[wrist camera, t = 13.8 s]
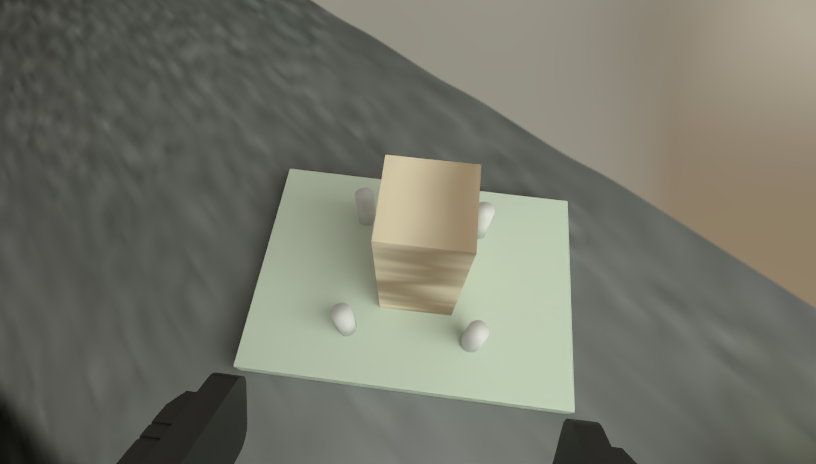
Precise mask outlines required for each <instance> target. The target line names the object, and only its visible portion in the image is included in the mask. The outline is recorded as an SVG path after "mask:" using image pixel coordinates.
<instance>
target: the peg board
mask: <svg viewBox="0 0 816 464" xmlns="http://www.w3.org/2000/svg"><path fill="white" fill-rule="evenodd" d="M380 185H381V179H373V178H365V177H356V176H348V175H339V174H331V173H322V172H314V171H305V170H297V169H290V170H289V174H288V177H287V181H286V184H285V188H284V191H283V195H282V198H281V202H280V205H279V209H278V212H277V216H276V219H275V223H274V226H273V230H272V233H271V237H270V240H269V244H268V247H267V251H266V254H265V258H264V261H263V265H262V268H261V272H260V275H259V279H258V282H257V285H256V289H255V292H254V296H253V299H252V303H251V306H250V310H249V313H248V317H247V320H246V324H245V327H244V331H243V334H242V338H241V341H240V345H239V348H238V352H237V355H236V359H235V362H234V367H236V368H238V369H240V370H242V371H250V372H257V373H265V374H272V375H280V376H287V377H294V378H302V379H309V380H317V381H324V382H331V383H339V384H346V385H354V386H361V387H369V388H376V389H383V390H391V391H398V392H406V393H413V394H420V395H428V396H435V397H443V398H450V399H458V400H465V401H472V402H480V403H487V404H495V405H502V406H509V407H517V408H524V409H532V410H539V411H547V412H554V413H561V414H569V413H574V412H575V406H574V377H573V348H572V318H571V289H570V260H569V231H568V201H560V200H552V199H543V198H535V197H526V196H518V195H509V194H501V193H492V192H484V191H480V196H479V216H478V235H477V253H476V256H475V258H474V261H473V263H472V266H471V268H470V271H469V273H468V276H467V278H466V281H465V283H464V286H463V288H462V291H461V293H460V295H459V298H458V300H457V303H456V305H455V308H454V310H453V313H452V315H451V316H449V315H441V314H432V313H423V312H415V311H406V310H398V309H389V308H380V305H379V297H378V289H377V282H376V274H375V266H374V258H373V251H372V243H371V240H372V234H373V228H374V222H375V216H376V209H377V203H378V197H379V191H380Z"/></svg>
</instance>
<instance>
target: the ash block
mask: <svg viewBox="0 0 816 464" xmlns="http://www.w3.org/2000/svg"><path fill="white" fill-rule="evenodd" d="M480 176H481V165H477V164H468V163H459V162H449V161H440V160H430V159H421V158H411V157H402V156H392V155H385V161H384V167H383V173H382V179H381V185H380V191H379V197H378V203H377V209H376V216H375V222H374V228H373V234H372V240H371V243H372V251H373V258H374V266H375V274H376V282H377V289H378V297H379V305H380V308H389V309H398V310H406V311H415V312H423V313H432V314H441V315H449V316H451V315H452V313H453V310H454V308H455V305H456V303H457V300H458V298H459V295H460V293H461V291H462V288H463V286H464V283H465V281H466V278H467V276H468V273H469V271H470V268H471V266H472V263H473V261H474V258H475V256H476V253H477V235H478V216H479V196H480Z"/></svg>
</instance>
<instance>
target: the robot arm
mask: <svg viewBox="0 0 816 464" xmlns="http://www.w3.org/2000/svg"><path fill="white" fill-rule="evenodd" d="M246 431H247V398H246V380H245V377H244V376H238V375H230V374H222V373H212V374H211V375H210V376H209V377H208V378H207V380H206V381H205V382H204V384H203V385H202V386H201V387H200V389H199V390H198V391H197V392H191V391H186V392H185V393H183V394H182V395H180V396H178V397H177V398H175V399H174V400H172V401H171V402H169V403H168V404H166V405H165V407H164V408H163V409H162V410H161V411H160V413H159V414H158V415H157V416H156V417H155V419H154V420H153V421H152V424H151V425H149V426H148V427H147V428H146V429H145V430H144V432H143V433H142V434H141V435H140V438H139V439H137V440H136V441H135V442H134V443H133V445H132V446H131V447H130V448H129V449H128V451H127V452H126V453H125V454H124V455H123V457H122V458H121V459H120V460H119V461H118V462H117V464H234V462H235V461H236V459H237V457H238V455H239V453H240V451H241V449H242V446H243V444H244V440H245V437H246ZM553 464H637V463H636V462H635V461H634V460H633V459H632V458H631V457H630V456H629V455H628V454H627V453H626V452H625V451H624V450H623V449H622V448H616V447H611V445H610V443H609V441H608V438H607V436H606V434H605V432H604V430H603V428H602V426H601V425H600V424H599V423H598V422H591V421H583V420H575V419H566V420H565V421H564V423H563V427H562V430H561V434H560V438H559V442H558V446H557V449H556V453H555V457H554V461H553Z"/></svg>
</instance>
